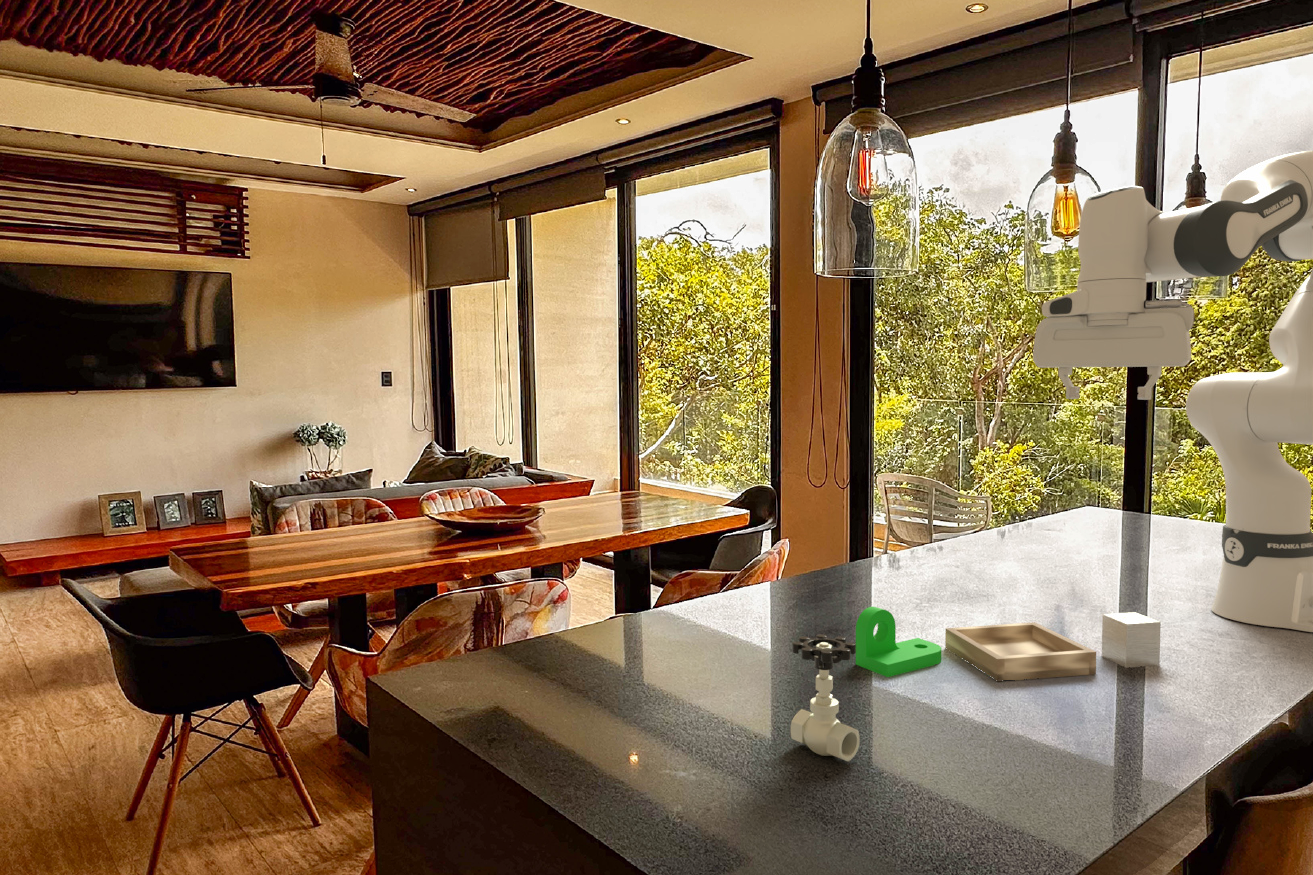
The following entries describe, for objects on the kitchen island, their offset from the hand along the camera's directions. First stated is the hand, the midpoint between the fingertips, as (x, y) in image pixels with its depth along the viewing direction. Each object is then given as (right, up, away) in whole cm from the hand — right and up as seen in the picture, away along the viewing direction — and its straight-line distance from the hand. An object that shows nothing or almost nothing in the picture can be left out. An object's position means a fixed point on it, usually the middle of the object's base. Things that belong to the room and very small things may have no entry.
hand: (1107, 399), depth 128 cm
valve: (-47, -39, -34) cm, 70 cm away
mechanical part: (-31, -37, -5) cm, 49 cm away
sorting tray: (-15, -36, -5) cm, 40 cm away
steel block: (0, -36, -6) cm, 37 cm away
